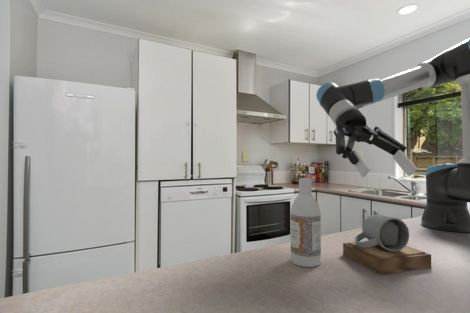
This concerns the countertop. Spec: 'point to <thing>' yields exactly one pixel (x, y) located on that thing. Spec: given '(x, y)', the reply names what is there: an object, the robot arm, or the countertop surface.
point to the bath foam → (305, 227)
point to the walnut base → (387, 258)
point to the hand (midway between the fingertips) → (390, 172)
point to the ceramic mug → (383, 233)
